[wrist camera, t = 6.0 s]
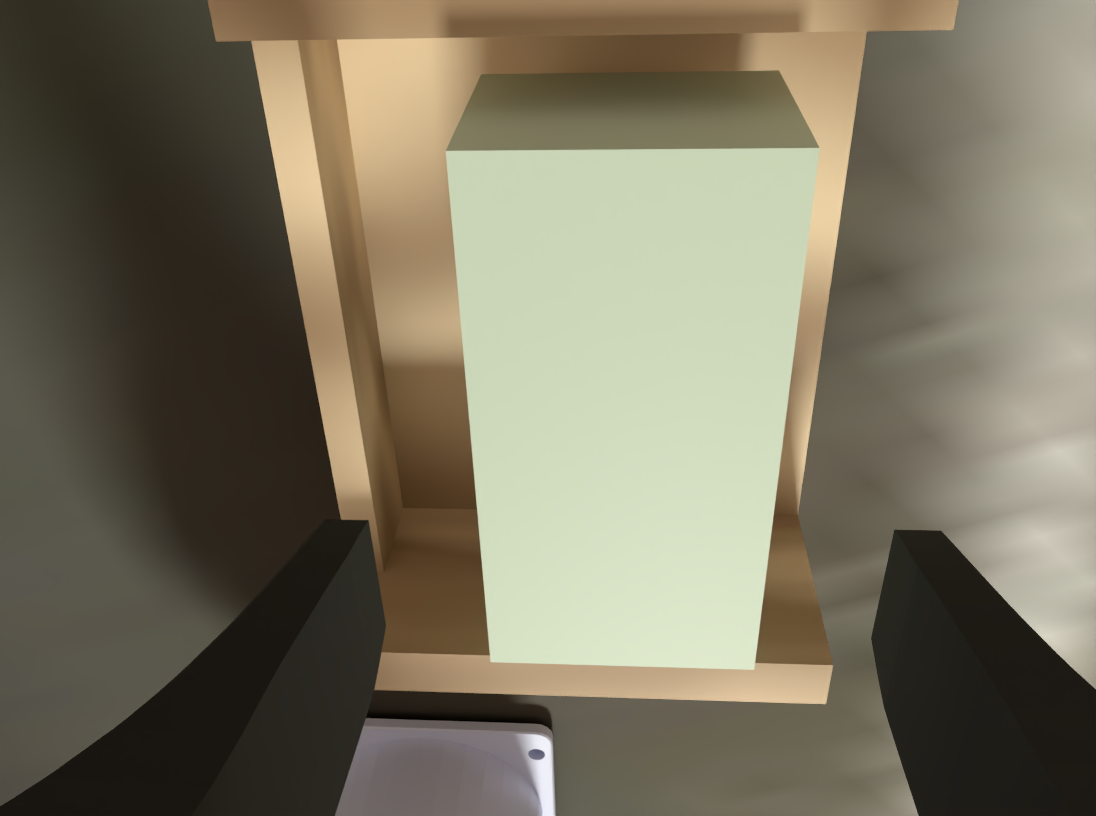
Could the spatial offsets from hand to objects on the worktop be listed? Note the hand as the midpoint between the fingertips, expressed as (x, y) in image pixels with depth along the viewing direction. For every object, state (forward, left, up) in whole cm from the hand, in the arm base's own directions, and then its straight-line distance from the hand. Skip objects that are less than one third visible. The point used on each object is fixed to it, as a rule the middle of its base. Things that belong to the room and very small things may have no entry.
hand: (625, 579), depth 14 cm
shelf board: (0, 0, -7) cm, 7 cm away
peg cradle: (0, 0, -10) cm, 10 cm away
